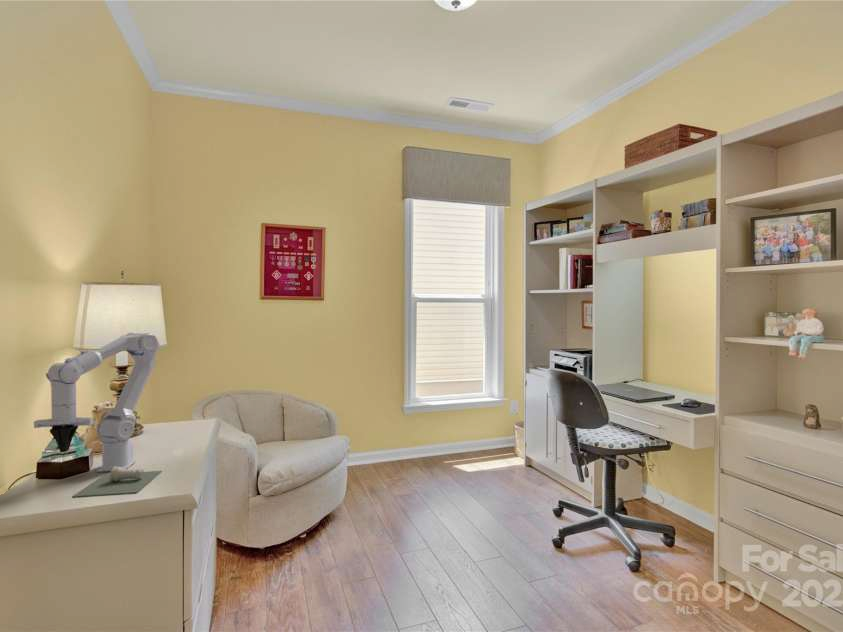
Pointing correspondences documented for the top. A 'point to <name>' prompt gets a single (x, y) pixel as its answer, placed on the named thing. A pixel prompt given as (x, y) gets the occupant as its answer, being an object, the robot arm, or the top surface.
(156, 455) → the top surface
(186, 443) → the top surface
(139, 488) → the mat
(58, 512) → the top surface
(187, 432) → the top surface
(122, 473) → the rook chess piece
